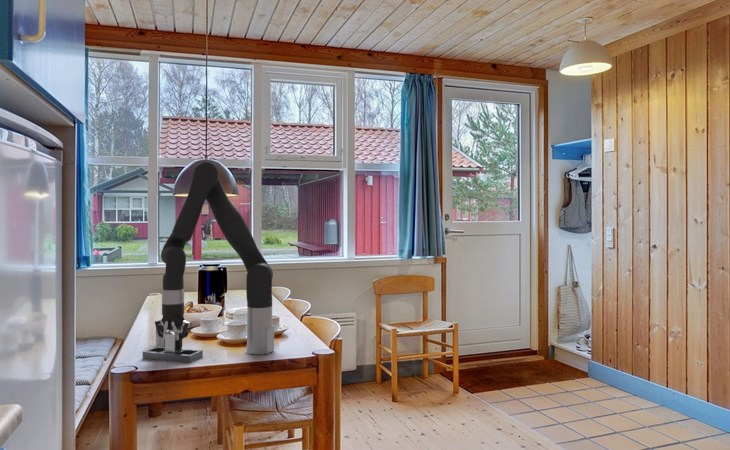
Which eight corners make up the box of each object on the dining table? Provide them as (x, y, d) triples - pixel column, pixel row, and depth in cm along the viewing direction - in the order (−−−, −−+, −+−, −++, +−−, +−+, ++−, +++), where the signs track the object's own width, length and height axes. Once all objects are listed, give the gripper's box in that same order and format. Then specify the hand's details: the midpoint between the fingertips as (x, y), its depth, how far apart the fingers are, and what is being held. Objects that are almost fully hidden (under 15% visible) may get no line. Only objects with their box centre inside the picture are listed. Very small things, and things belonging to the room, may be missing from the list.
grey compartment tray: (202, 356, 185) (202, 350, 185) (189, 362, 177) (189, 356, 177) (156, 352, 190) (156, 346, 190) (142, 358, 182) (142, 351, 182)
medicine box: (165, 347, 198) (165, 324, 198) (155, 346, 199) (155, 324, 199) (177, 342, 206) (177, 320, 206) (167, 341, 207) (167, 320, 207)
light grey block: (181, 351, 185) (181, 332, 185) (174, 354, 181) (174, 335, 181) (171, 351, 186) (171, 331, 186) (164, 353, 182) (164, 334, 182)
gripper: (196, 301, 185) (196, 348, 186) (162, 299, 189) (162, 345, 189) (184, 304, 178) (184, 353, 178) (149, 302, 181) (149, 350, 182)
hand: (173, 349), depth 184 cm, fingers closed on light grey block, 4 cm apart
